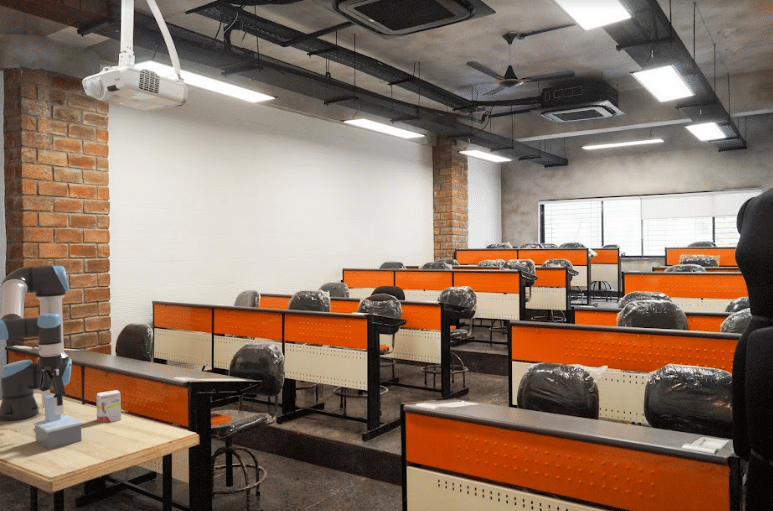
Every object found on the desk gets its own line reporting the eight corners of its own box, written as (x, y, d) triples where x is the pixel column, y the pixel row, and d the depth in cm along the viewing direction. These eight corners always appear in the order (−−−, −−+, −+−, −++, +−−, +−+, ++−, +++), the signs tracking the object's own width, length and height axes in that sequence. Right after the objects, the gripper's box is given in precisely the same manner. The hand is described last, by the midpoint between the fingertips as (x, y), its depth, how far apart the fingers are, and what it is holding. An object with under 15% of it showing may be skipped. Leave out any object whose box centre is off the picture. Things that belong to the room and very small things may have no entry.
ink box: (99, 424, 234) (98, 395, 233) (96, 421, 238) (95, 393, 237) (121, 420, 239) (120, 392, 238) (119, 417, 243) (118, 389, 242)
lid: (34, 428, 213) (32, 398, 212) (67, 420, 221) (66, 391, 221) (47, 437, 203) (46, 405, 203) (82, 428, 212) (81, 398, 211)
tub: (35, 443, 213) (34, 424, 213) (67, 435, 221) (66, 417, 221) (48, 451, 204) (48, 432, 203) (81, 443, 212) (80, 424, 212)
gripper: (28, 352, 220) (30, 407, 221) (51, 360, 204) (53, 419, 204) (49, 349, 226) (51, 402, 226) (73, 356, 209) (75, 414, 210)
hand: (52, 410), depth 215 cm, fingers open, 13 cm apart
